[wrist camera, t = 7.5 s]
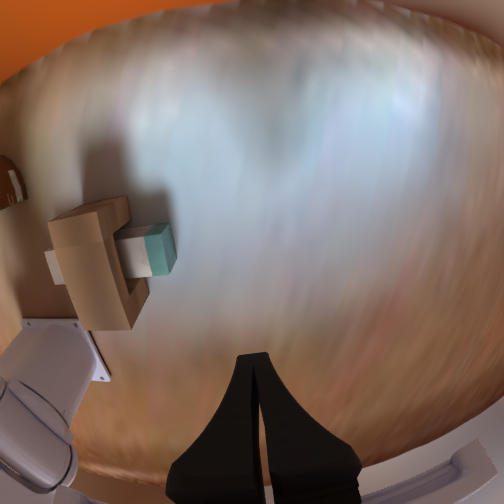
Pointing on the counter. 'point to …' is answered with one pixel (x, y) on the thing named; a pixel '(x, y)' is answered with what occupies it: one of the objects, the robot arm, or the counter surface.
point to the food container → (10, 184)
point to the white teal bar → (134, 252)
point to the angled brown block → (97, 265)
